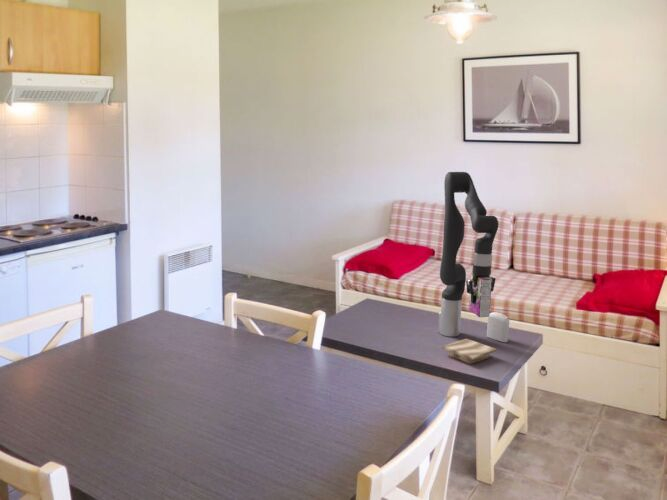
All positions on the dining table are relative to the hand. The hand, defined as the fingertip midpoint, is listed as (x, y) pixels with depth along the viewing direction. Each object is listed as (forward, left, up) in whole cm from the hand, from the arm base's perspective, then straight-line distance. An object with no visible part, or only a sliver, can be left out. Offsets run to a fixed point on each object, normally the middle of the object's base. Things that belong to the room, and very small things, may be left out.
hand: (479, 302), depth 273 cm
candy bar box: (0, 0, -5) cm, 5 cm away
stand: (-1, -3, -24) cm, 24 cm away
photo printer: (-7, +25, -24) cm, 35 cm away
